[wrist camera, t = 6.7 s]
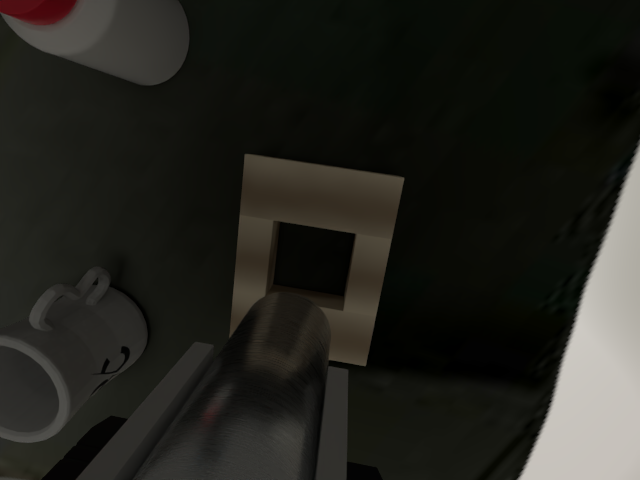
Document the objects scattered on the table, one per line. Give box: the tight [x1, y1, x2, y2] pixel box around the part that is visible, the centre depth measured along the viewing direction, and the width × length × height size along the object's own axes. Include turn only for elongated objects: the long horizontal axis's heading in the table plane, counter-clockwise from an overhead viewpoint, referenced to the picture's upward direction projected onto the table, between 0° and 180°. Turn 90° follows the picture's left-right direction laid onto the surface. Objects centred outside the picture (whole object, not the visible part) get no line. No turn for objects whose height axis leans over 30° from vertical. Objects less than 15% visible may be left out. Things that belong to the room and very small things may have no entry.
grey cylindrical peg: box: [132, 292, 331, 480], centre depth 10 cm, size 5×5×14 cm
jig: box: [229, 154, 404, 366], centre depth 28 cm, size 16×12×3 cm
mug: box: [0, 267, 148, 443], centre depth 28 cm, size 12×9×10 cm
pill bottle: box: [0, 0, 190, 86], centre depth 21 cm, size 8×8×11 cm
